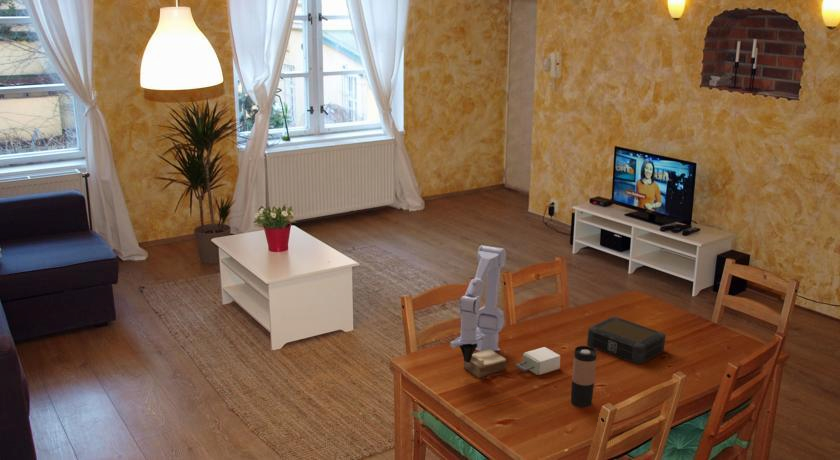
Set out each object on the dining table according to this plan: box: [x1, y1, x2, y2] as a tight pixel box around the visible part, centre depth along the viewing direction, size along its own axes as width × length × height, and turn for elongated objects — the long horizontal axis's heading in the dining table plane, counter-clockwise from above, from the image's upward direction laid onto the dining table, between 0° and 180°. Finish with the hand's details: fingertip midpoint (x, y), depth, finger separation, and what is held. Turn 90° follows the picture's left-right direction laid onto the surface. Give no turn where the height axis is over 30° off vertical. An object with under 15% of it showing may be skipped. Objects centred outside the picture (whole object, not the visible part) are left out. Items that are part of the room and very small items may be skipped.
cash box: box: [586, 316, 666, 365], centre depth 329 cm, size 25×20×8 cm
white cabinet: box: [523, 346, 561, 375], centre depth 308 cm, size 9×10×6 cm
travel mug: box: [570, 345, 598, 409], centre depth 283 cm, size 8×8×20 cm
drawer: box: [515, 353, 540, 376], centre depth 307 cm, size 9×15×6 cm, turn 123°
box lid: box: [470, 349, 507, 368], centre depth 306 cm, size 10×12×2 cm
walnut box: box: [463, 360, 507, 379], centre depth 307 cm, size 10×12×5 cm
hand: (467, 361), depth 301 cm, fingers closed
